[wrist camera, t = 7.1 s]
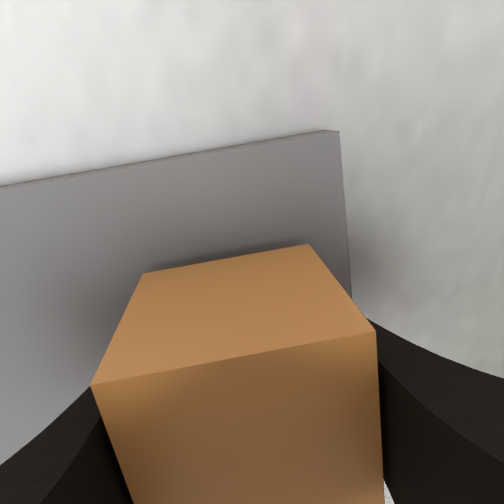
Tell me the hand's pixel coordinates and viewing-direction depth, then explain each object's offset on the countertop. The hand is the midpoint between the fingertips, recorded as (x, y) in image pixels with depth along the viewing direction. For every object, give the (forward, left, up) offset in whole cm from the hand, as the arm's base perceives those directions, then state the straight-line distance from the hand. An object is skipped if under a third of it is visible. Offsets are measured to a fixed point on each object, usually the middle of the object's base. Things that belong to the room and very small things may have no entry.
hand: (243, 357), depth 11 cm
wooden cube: (0, 0, -1) cm, 1 cm away
